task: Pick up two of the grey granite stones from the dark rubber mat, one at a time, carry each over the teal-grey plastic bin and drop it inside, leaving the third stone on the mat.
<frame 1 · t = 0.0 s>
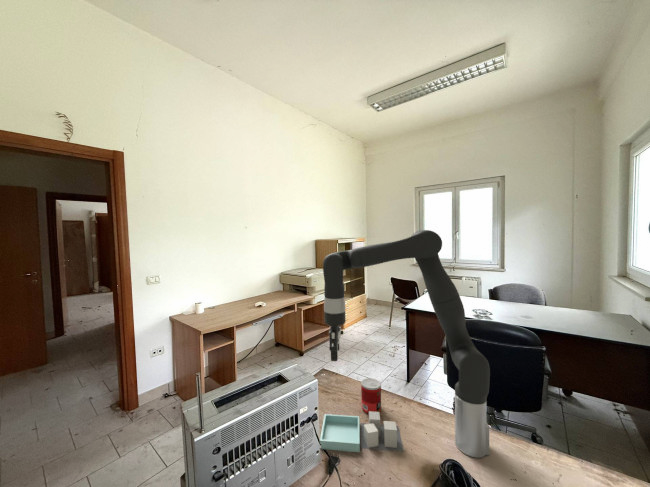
hand: (335, 355, 93), 29 cm above the table, fingers open, 8 cm apart
canned food: (371, 409, 108), on the table
stone c: (371, 442, 90), resting on mat
bin: (340, 436, 93), on the table
stone b: (374, 431, 95), resting on mat
stone a: (390, 442, 90), resting on mat
mat: (380, 437, 92), on the table
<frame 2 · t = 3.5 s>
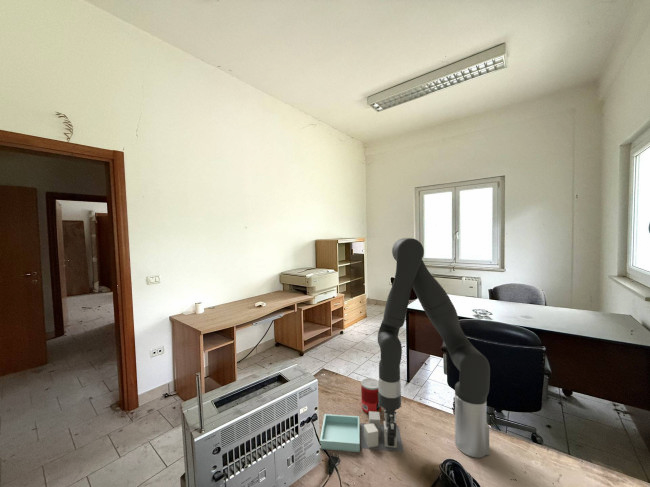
hand: (390, 439, 90), 1 cm above the table, fingers closed on stone a, 4 cm apart
stone a: (390, 442, 90), resting on mat, touching gripper
everything else where it was.
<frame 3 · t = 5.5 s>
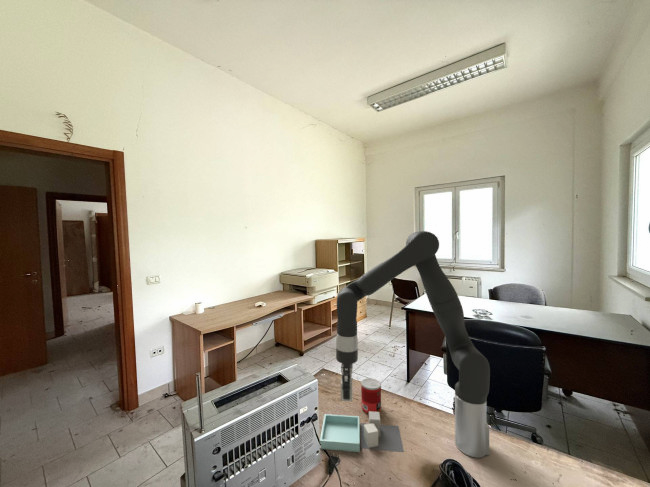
hand: (346, 394, 92), 16 cm above the table, fingers closed on stone a, 4 cm apart
stone a: (346, 397, 92), point 15 cm above the table, touching gripper
everything else where it was.
when the fingers open (4 cm above the table, at t = 7.6 s): stone a drops 3 cm, resting on bin.
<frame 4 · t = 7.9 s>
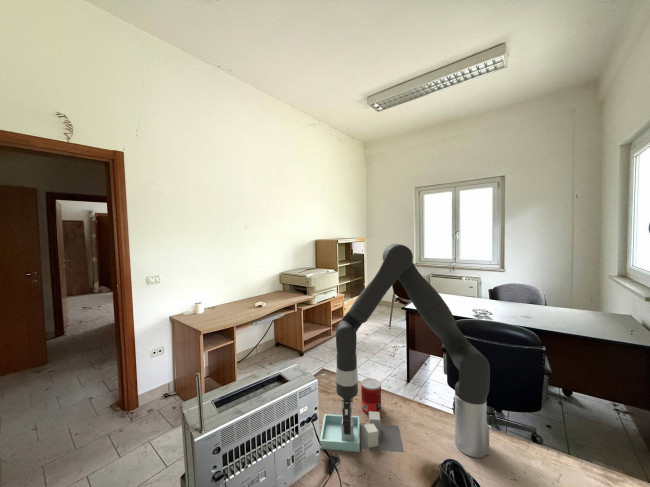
hand: (347, 426, 92), 5 cm above the table, fingers open, 6 cm apart
stone a: (347, 437, 92), point 1 cm above the table, touching bin
everything else where it was.
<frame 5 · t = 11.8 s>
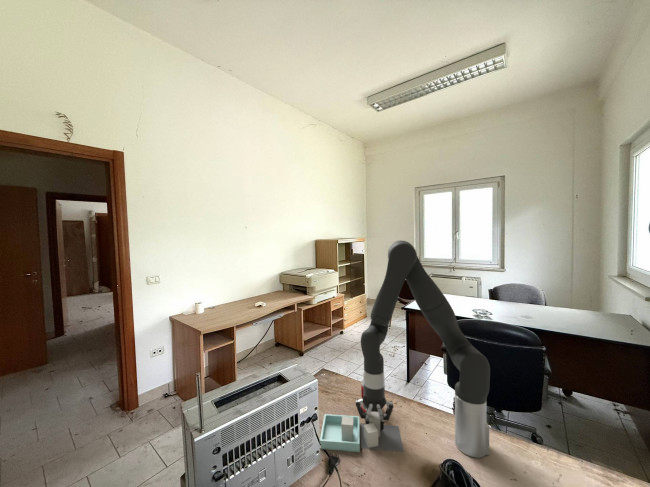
hand: (374, 429, 95), 1 cm above the table, fingers closed on stone b, 3 cm apart
stone b: (374, 431, 95), resting on mat, touching gripper
everything else where it was.
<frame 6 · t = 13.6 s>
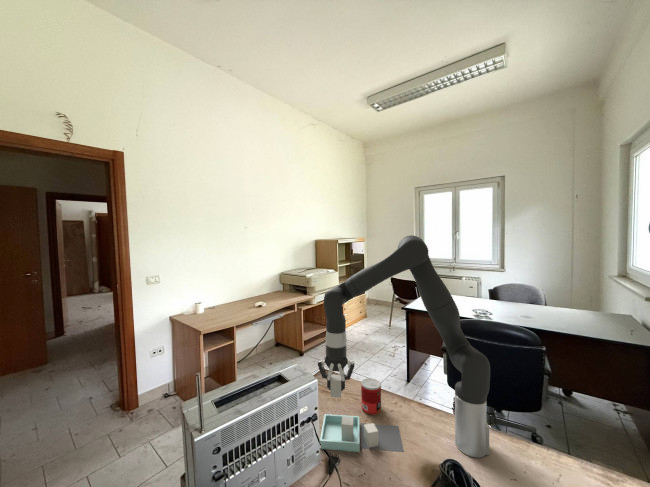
hand: (336, 389, 95), 16 cm above the table, fingers closed on stone b, 3 cm apart
stone b: (336, 394, 96), point 14 cm above the table, touching gripper
everything else where it was.
when the fingers open (4 cm above the table, at t = 15.6 s): stone b drops 2 cm, resting on bin.
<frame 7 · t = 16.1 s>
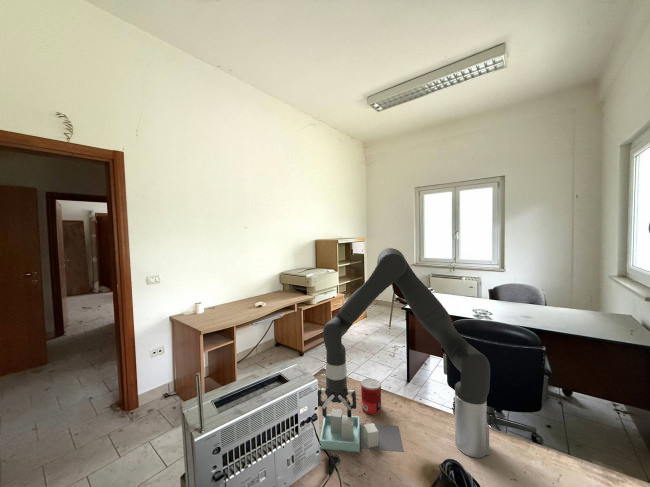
hand: (337, 417, 96), 5 cm above the table, fingers open, 8 cm apart
stone b: (336, 428, 96), point 1 cm above the table, touching bin
everything else where it was.
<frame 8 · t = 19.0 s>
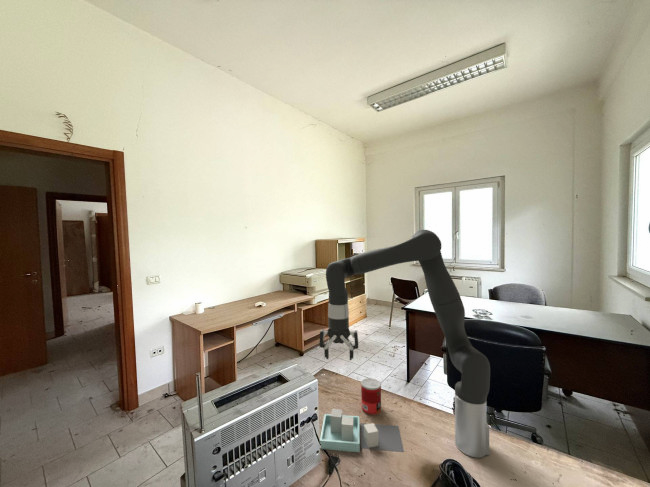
hand: (339, 358, 97), 26 cm above the table, fingers open, 8 cm apart
nothing on the table moved.
at the end: stone a inside the target area on the bin (2.7 cm from its centre), point 0.6 cm above the bin's base; stone b inside the target area on the bin (3.3 cm from its centre), point 0.6 cm above the bin's base; the gripper is holding nothing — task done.
